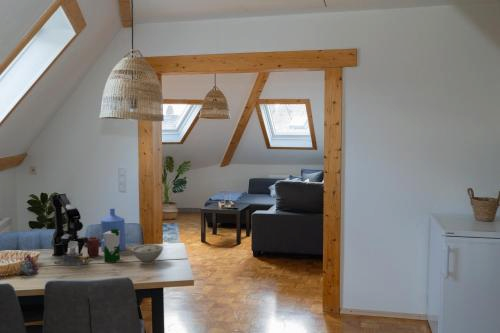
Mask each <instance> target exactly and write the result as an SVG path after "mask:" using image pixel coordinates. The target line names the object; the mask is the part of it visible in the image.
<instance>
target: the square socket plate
mask: <svg viewBox="0 0 500 333" xmlns="http://www.w3.org/2000/svg"><path fill="white" fill-rule="evenodd" d="M62 257H63V258H61V259H59V260H57V261H56V260H55V261H54V264H57V265H69V266H82V265H85V264H88V263H89V262H91V261H93V260H92V258H90V257H89V255H87V256H85V255H84V254H83V252H81V253H80V254H79V252H76V251H75V255H70V252H67V253H66V254H64V255H62Z"/></svg>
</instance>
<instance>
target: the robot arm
mask: <svg viewBox="0 0 500 333" xmlns="http://www.w3.org/2000/svg"><path fill="white" fill-rule="evenodd" d="M49 202H50V205H51V206H52V208H53V212H54V213H53V214H54V215H53V216H54V229H55V230H54V232H53V234H52V239H51V241H50V244H51V247H53V253H52V256H58V257H59V256H63V255H65V254H68V253H69V252H68V251H69V250H68V249H69V243H70V242H76V245H77V246H78V248H77V251H78V253H79V254H80V253H82V251H83V247H85V244H86V242H88V238H89V237H87V236H81V237H79V235H78V232H80V231H82V229H83V227H84V224H83V223H82V221H80V220H81V219H82V217H81V213H80V211H79V209H78V208H77V207H76V206H75V205H72V203H71V201H70V200H69V198H68V197H67V194H66V192H65V193H64V192H59V193H56V194H51V196H50V197H49ZM62 208H63V209H62ZM63 210H64V217H65V220H66V230H64V226H63V225H64V222H63Z"/></svg>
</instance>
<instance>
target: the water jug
mask: <svg viewBox="0 0 500 333" xmlns="http://www.w3.org/2000/svg"><path fill="white" fill-rule="evenodd" d="M109 210H110V211H109V215H107V216H106V217H104V218H102V219H101V220H100V230H101V232H102V234H103V233H105V232H108V231H111V229H118V231H120V237H119V244H120V252H121V251H124V250H125V249H126V238H125V237H126V231H125V230H126V229H125V224H126V223H125V218H124V217H121V216H119V215H117V214H116V211H115V210H116V209H115V208H109ZM101 251H102V252H104V237H102V239H101Z"/></svg>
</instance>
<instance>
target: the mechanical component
mask: <svg viewBox="0 0 500 333" xmlns="http://www.w3.org/2000/svg"><path fill="white" fill-rule="evenodd" d="M87 238H88V242H86V243H85V244H84V247H85V248H87V256H88V258H92V257H99V253H100V247H102V242H100V237H96V236H90V237H87Z"/></svg>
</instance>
